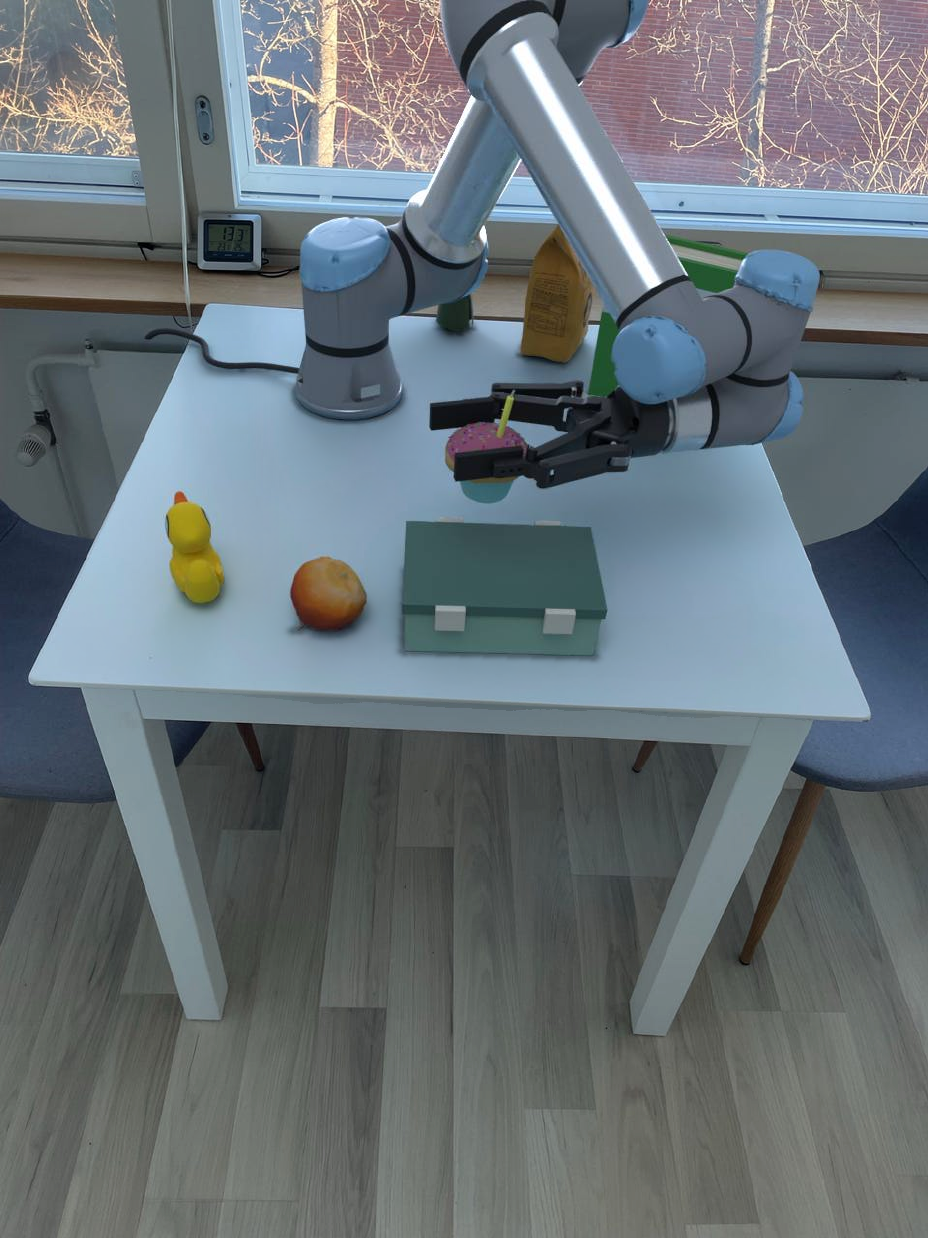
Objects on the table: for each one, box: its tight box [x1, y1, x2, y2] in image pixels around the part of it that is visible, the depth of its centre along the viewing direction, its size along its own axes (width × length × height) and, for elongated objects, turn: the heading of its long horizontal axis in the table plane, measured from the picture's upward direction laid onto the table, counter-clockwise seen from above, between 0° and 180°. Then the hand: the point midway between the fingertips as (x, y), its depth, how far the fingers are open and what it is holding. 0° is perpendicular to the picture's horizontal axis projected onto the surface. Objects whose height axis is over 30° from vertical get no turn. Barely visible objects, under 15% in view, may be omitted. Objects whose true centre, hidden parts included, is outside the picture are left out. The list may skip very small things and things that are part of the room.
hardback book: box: [587, 233, 751, 397], centre depth 123 cm, size 18×7×24 cm, turn 64°
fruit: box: [289, 556, 368, 632], centre depth 94 cm, size 8×8×8 cm
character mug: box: [435, 293, 474, 332], centre depth 144 cm, size 11×7×13 cm, turn 148°
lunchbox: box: [401, 516, 608, 657], centre depth 96 cm, size 21×15×7 cm
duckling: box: [164, 490, 225, 604], centre depth 95 cm, size 11×5×10 cm, turn 23°
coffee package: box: [519, 223, 596, 363], centre depth 137 cm, size 10×12×22 cm
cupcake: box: [444, 390, 529, 504], centre depth 87 cm, size 9×8×12 cm
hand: (442, 441), depth 85 cm, fingers closed on cupcake, 8 cm apart
